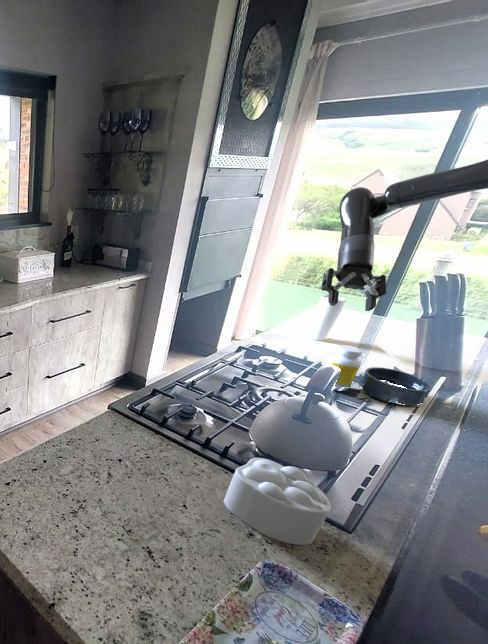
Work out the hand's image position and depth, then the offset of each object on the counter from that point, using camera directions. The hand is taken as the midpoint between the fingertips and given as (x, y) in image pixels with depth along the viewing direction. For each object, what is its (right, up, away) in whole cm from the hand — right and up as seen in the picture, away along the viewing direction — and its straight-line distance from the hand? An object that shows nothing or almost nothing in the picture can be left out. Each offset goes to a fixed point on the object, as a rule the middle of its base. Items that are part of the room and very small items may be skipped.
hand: (351, 307), depth 111 cm
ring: (+8, -24, -2) cm, 25 cm away
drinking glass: (+17, -6, +33) cm, 38 cm away
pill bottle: (-4, -22, +1) cm, 23 cm away
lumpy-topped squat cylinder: (-52, -43, -41) cm, 79 cm away
